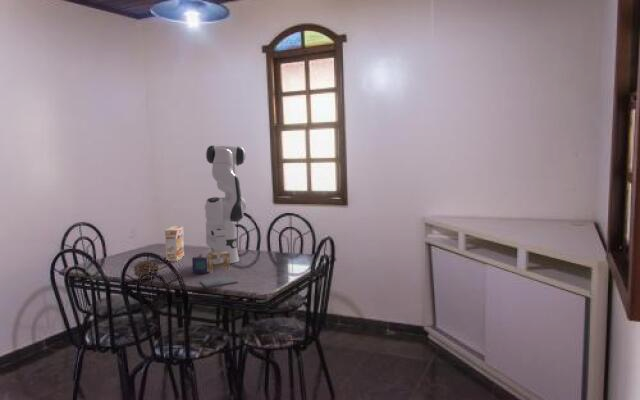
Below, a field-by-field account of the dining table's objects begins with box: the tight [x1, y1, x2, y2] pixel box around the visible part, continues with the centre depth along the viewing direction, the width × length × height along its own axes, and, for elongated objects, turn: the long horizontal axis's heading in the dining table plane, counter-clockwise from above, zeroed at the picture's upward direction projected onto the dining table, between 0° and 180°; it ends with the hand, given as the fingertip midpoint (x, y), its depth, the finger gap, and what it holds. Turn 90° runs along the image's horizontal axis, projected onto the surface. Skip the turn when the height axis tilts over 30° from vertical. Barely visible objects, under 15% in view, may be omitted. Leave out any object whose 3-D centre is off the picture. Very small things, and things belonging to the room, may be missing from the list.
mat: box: [199, 276, 238, 289], centre depth 237 cm, size 16×11×1 cm
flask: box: [191, 253, 211, 275], centre depth 255 cm, size 9×3×11 cm, turn 95°
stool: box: [206, 251, 231, 274], centre depth 236 cm, size 9×6×10 cm
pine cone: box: [133, 259, 168, 280], centre depth 248 cm, size 22×10×10 cm, turn 148°
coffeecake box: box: [164, 225, 185, 263], centre depth 288 cm, size 15×7×20 cm, turn 179°
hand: (216, 257), depth 235 cm, fingers closed on stool, 5 cm apart
